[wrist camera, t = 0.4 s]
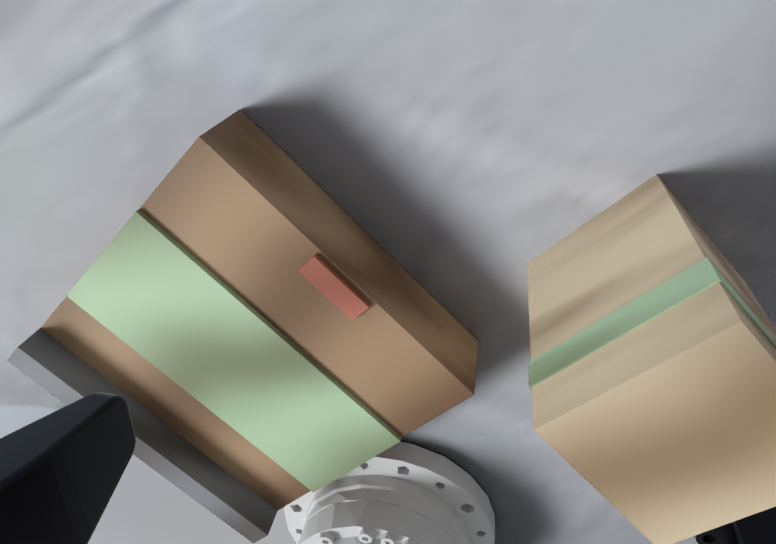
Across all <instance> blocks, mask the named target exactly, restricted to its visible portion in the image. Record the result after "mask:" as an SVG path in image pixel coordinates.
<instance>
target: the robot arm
mask: <svg viewBox="0 0 776 544" xmlns="http://www.w3.org/2000/svg"><path fill="white" fill-rule="evenodd" d="M135 443H136V436H135V431H134V428H133V424H132V420H131V416H130V412H129V408H128V404H127V401H126V400H125V399H124V398H123V397H122V396H120V395H115V394H109V393H103V392H95V393H92V394H89V395H87V396H85V397H83V398H81V399H79V400H77V401H75V402H73V403H71V404H69V405H67V406H65V407H63V408H61V409H59V410H57V411H55V412H53V413H51V414H49V415H47V416H45V417H43V418H41V419H39V420H37V421H35V422H33V423H31V424H29V425H27V426H25V427H23V428H21V429H19V430H17V431H15V432H13V433H11V434H9V435H7V436H5V437H3V438H1V439H0V544H87V543H88V541H89V540H90V538H91V536H92V534H93V532H94V530H95V528H96V526H97V524H98V522H99V520H100V518H101V516H102V514H103V512H104V510H105V508H106V506H107V504H108V502H109V500H110V498H111V496H112V494H113V492H114V490H115V488H116V486H117V484H118V482H119V480H120V478H121V476H122V474H123V472H124V470H125V468H126V466H127V464H128V462H129V460H130V458H131V456H132V454H133V452H134V448H135ZM695 538H696V541H697V542H698V543H699V544H776V506H775V507H773V508H770V509H767V510H764V511H762V512H759V513H756V514H753V515H751V516H748V517H745V518H742V519H739V520H737V521H734V522H731V523H728V524H726V525H723V526H720V527H717V528H714V529H712V530H709V531H706V532H703V533H701V534H698V535H695Z"/></svg>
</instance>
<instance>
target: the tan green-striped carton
mask: <svg viewBox="0 0 776 544" xmlns="http://www.w3.org/2000/svg"><path fill="white" fill-rule="evenodd" d="M527 279H528V303H529V328H530V352H531V361H530V362H528V369H529V387H530V388H531V389H532V400H533V425H534V431H535V432H536V433H537V434H539V435H540V436H541V437H542V438H543V439H544V440H545V441H546V442H547V443H548V444H549V445H550V446H551V447H552V448H553V449H554V450H555V451H556V452H557V453H558V454H560V455H561V456H562V457H563V458H564V459H565V460H566V461H567V462H568V463H569V464H570V465H571V466H572V467H573V468H574V469H575V470H576V471H577V472H578V473H579V474H581V475H582V476H583V477H584V478H585V479H586V480H587V481H588V482H589V483H590V484H591V485H592V486H593V487H594V488H595V489H596V490H597V491H598V492H599V493H600V494H602V495H603V496H604V497H605V498H606V499H607V500H608V501H609V502H610V503H611V504H612V505H613V506H614V507H615V508H616V509H617V510H618V511H619V512H620V513H621V514H623V515H624V516H625V517H626V518H627V519H628V520H629V521H630V522H631V523H632V524H633V525H634V526H635V527H636V528H637V529H638V530H639V531H640V532H641V533H642V534H644V535H645V536H646V537H647V538H648V539H649V540H650V541H651V542H652V543H653V544H673V543H676V542H678V541H681V540H684V539H687V538H690V537H692V536H695V535H698V534H701V533H703V532H706V531H709V530H712V529H714V528H717V527H720V526H723V525H726V524H728V523H731V522H734V521H737V520H739V519H742V518H745V517H748V516H751V515H753V514H756V513H759V512H762V511H764V510H767V509H770V508H773V507H775V506H776V329H775V327H774V326H773V324H772V322H771V321H770V319H769V318H768V316H767V315H766V313H765V312H764V310H763V309H762V307H761V306H760V304H759V303H758V301H757V299H756V298H755V296H754V295H753V293H752V292H751V290H750V289H749V287H748V286H747V284H746V283H745V281H744V280H743V279H742V278H741V276H740V275H739V274H738V273H737V272H736V270H735V269H734V268H733V267H732V265H731V264H730V263H729V262H728V261H727V259H726V258H725V257H724V256H723V254H722V253H721V252H720V251H719V250H718V248H717V247H716V246H715V245H714V243H713V242H712V241H711V240H710V239H709V237H708V236H707V235H706V234H705V232H704V231H703V230H702V229H701V228H700V226H699V225H698V224H697V223H696V222H695V220H694V219H693V218H692V217H691V215H690V214H689V213H688V212H687V211H686V209H685V208H684V207H683V206H682V204H681V203H680V202H679V201H678V200H677V198H676V197H675V196H674V195H673V193H672V192H671V191H670V190H669V189H668V187H667V186H666V185H665V184H664V183H663V181H662V180H661V179H660V178H659V176H658V175H657V174H656V175H655V176H654V177H652V178H651V179H649V180H648V181H646V182H645V183H643V184H642V185H641V186H639V187H638V188H636V189H635V190H633V191H632V192H630V193H629V194H627V195H626V196H625V197H623V198H622V199H620V200H619V201H617V202H616V203H614V204H613V205H611V206H610V207H609V208H607V209H606V210H604V211H603V212H601V213H600V214H598V215H597V216H596V217H594V218H593V219H591V220H590V221H588V222H587V223H585V224H584V225H582V226H581V227H580V228H578V229H577V230H575V231H574V232H572V233H571V234H569V235H568V236H566V237H565V238H564V239H562V240H561V241H559V242H558V243H556V244H555V245H553V246H552V247H551V248H549V249H548V250H546V251H545V252H543V253H542V254H540V255H539V256H537V257H536V258H535V259H533V260H532V261H530V262H529V263H527Z"/></svg>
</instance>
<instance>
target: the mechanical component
mask: <svg viewBox="0 0 776 544" xmlns="http://www.w3.org/2000/svg"><path fill="white" fill-rule="evenodd" d="M284 513H285V516H286V521H287V525H288V529H289V531H290V533H291V535H292V536H293V538H294V540H295V541H296V543H297V544H494V543H495V515H494V512H493V509H492V506H491V504H490V501H489V498H488V496H487V495H486V493H485V492H484V491H483V490H482V488H481V487H480V486H479V485H478V484H477V482H476V481H475V480H474V479H473V478H472V476H471V475H470V474H468V473H467V472H465V471H464V470H463V469H461V468H460V467H459V466H457V465H456V464H455V463H453V462H452V461H450V460H449V459H448V458H446V457H444V456H442V455H439V454H437V453H434V452H432V451H429V450H427V449H424V448H422V447H419V446H417V445H414V444H410V443H405V442H399V443H397V444H395V445H394V446H392V447H390V448H389V449H387V450H385V451H383V452H382V453H380V454H378V455H377V456H375V457H373V458H371V459H370V460H368V461H366V462H365V463H363V464H361V465H360V466H358V467H356V468H354V469H353V470H351V471H349V472H348V473H346V474H344V475H342V476H341V477H339V478H337V479H336V480H334V481H332V482H331V483H329V484H327V485H325V486H324V487H322V488H320V489H319V490H317V491H315V492H314V493H313V492H312V491H310V492H308V493H306V494H305V495H303V496H301V497H300V498H298V499H296V500H295V501H293V502H291V503H290V504H288V505H286V506H285V509H284Z"/></svg>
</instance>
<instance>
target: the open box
mask: <svg viewBox="0 0 776 544" xmlns="http://www.w3.org/2000/svg"><path fill="white" fill-rule="evenodd" d="M66 296H67V297H66V298H65V299H64V300H63V301H62V303H61V304H60V305H59V306H58V307H57V309H56V310H55V311H54V312H53V313H52V315H51V316H50V317H49V318H48V319H47V321H46V322H45V323H44V324H43V326H42V327H41V328H40V329H39V330H38V331H36V332H35V333H34V334H33V335H32V336H30V337H29V338H28V339H27V340H26V341H25V342H23V343H22V344H21V345H20V346H19V347H18V348H17V349H16V350H15V351H14V353H13V354H12V355H11V356H10V357H9V359H8V360H7V361H8V362H9V363H11V364H12V365H13V366H15V367H16V368H17V369H19V370H20V371H22V372H23V373H24V374H26V375H27V376H28V377H30V378H31V379H32V380H34V381H35V382H36V383H38V384H39V385H40V386H42V387H43V388H44V389H46V390H47V391H49V392H50V393H51V394H53V395H54V396H55V397H57V398H58V399H59V400H61V401H62V402H63V403H65V404H66V405H69V404H71V403H73V402H75V401H77V400H79V399H81V398H83V397H85V396H87V395H89V394H92V393H95V392H103V393H109V394H115V395H120V396H122V397H123V398H124V399H125V400H126V401H127V404H128V408H129V412H130V416H131V420H132V424H133V428H134V431H135V436H136V443H135V448H134V452H133V454H134V455H135V456H136V457H138V458H139V459H140V460H142V461H143V462H145V463H146V464H147V465H149V466H150V467H151V468H153V469H154V470H155V471H157V472H158V473H159V474H161V475H162V476H163V477H165V478H166V479H167V480H169V481H170V482H172V483H173V484H174V485H175V486H177V487H178V488H180V489H181V490H182V491H183V492H185V493H186V494H188V495H189V496H190V497H192V498H193V499H195V500H196V501H197V502H198V503H200V504H201V505H202V506H204V507H205V508H207V509H208V510H209V511H210V512H212V513H213V514H215V515H216V516H217V517H219V518H220V519H221V520H223V521H224V522H225V523H227V524H228V525H230V526H231V527H232V528H233V529H235V530H236V531H237V532H239V533H240V534H241V535H243V536H244V537H246V538H247V539H248V540H250V541H251V542H252V543H255V542H256V541H258V540H260V539H262V538H264V537H265V536H267V535H268V533H269V531H270V528H271V526H272V523H273V521H274V518H275V515H276V513H277V511H278V510H279V509H281V508H283V507H284V506H286V505H288V504H290V503H291V502H293V501H295V500H296V499H298V498H300V497H301V496H303V495H305V494H306V493H308V492H310V491H312V492H313V493H314V492H315V491H317V490H319V489H320V488H322V487H324V486H325V485H327V484H329V483H331V482H332V481H334V480H336V479H337V478H339V477H341V476H342V475H344V474H346V473H348V472H349V471H351V470H353V469H354V468H356V467H358V466H360V465H361V464H363V463H365V462H366V461H368V460H370V459H371V458H373V457H375V456H377V455H378V454H380V453H382V452H383V451H385V450H387V449H389V448H390V447H392V446H394V445H395V444H397V443H399V442H400V441H401V437H403V436H405V435H406V434H408V433H410V432H411V431H413V430H415V429H416V428H418V427H420V426H422V425H423V424H425V423H427V422H428V421H430V420H432V419H433V418H435V417H437V416H439V415H440V414H442V413H444V412H445V411H447V410H449V409H450V408H452V407H454V406H455V405H457V404H459V403H461V402H462V401H464V400H466V399H467V398H469V397H471V396H472V395H474V388H475V376H476V364H477V353H478V341H477V340H476V339H475V338H474V337H473V336H472V335H471V334H470V333H469V332H468V331H467V330H466V329H465V328H464V327H463V326H462V325H461V324H460V323H459V322H458V321H457V320H456V319H455V318H454V317H453V316H452V315H451V314H450V313H449V312H448V311H446V310H445V309H444V308H443V307H442V306H441V305H440V304H439V303H438V302H437V301H436V300H435V299H434V298H433V297H432V296H431V295H430V294H429V293H428V292H427V291H426V290H425V289H424V288H423V287H422V286H421V285H420V284H419V283H418V282H417V281H416V280H415V279H414V278H413V277H412V276H411V275H410V274H409V273H407V272H406V271H405V270H404V269H403V268H402V267H401V266H400V265H399V264H398V263H397V262H396V261H395V260H394V259H393V258H392V257H391V256H390V255H389V254H388V253H387V252H386V251H385V250H384V249H383V248H382V247H381V246H380V245H379V244H378V243H377V242H376V241H375V240H374V239H373V238H372V237H371V236H370V235H369V234H367V233H366V232H365V231H364V230H363V229H362V228H361V227H360V226H359V225H358V224H357V223H356V222H355V221H354V220H353V219H352V218H351V217H350V216H349V215H348V214H347V213H346V212H345V211H344V210H343V209H342V208H341V207H340V206H339V205H338V204H337V203H336V202H335V201H334V200H333V199H332V198H331V197H330V196H329V195H327V194H326V193H325V192H324V191H323V190H322V189H321V188H320V187H319V186H318V185H317V184H316V183H315V182H314V181H313V180H312V179H311V178H310V177H309V176H308V175H307V174H306V173H305V172H304V171H303V170H302V169H301V168H300V167H299V166H298V165H297V164H296V163H295V162H294V161H293V160H292V159H291V158H290V157H289V156H287V155H286V154H285V153H284V152H283V151H282V150H281V149H280V148H279V147H278V146H277V145H276V144H275V143H274V142H273V141H272V140H271V139H270V138H269V137H268V136H267V135H266V134H265V133H264V132H263V131H262V130H261V129H260V128H259V127H258V126H257V125H256V124H255V123H254V122H253V121H252V120H251V119H250V118H248V117H247V116H246V115H245V114H244V113H243V112H242V111H241V110H238V111H237V112H235V113H234V114H232V115H231V116H229V117H228V118H226V119H225V120H223V121H222V122H220V123H219V124H217V125H216V126H214V127H213V128H211V129H210V130H208V131H207V132H206V133H204V134H203V135H201V136H200V137H199V138H198V139H197V140H196V141H195V142H194V144H193V145H192V146H191V147H190V148H189V150H188V151H187V152H186V153H185V155H184V156H183V157H182V158H181V159H180V161H179V162H178V163H177V164H176V165H175V167H174V168H173V169H172V170H171V171H170V173H169V174H168V175H167V176H166V177H165V179H164V180H163V181H162V182H161V183H160V185H159V186H158V187H157V188H156V189H155V191H154V192H153V193H152V194H151V195H150V197H149V198H148V199H147V200H146V201H145V203H144V204H143V205H142V206H141V207H140V209H139V210H137V211H136V212H135V213H134V214H133V216H132V217H131V218H130V219H129V220H128V222H127V223H126V224H125V225H124V226H123V228H122V229H121V230H120V231H119V233H118V234H117V235H116V236H115V237H114V239H113V240H112V241H111V242H110V243H109V245H108V246H107V247H106V248H105V249H104V251H103V252H102V253H101V254H100V255H99V257H98V258H97V259H96V260H95V261H94V263H93V264H92V265H91V266H90V268H89V269H88V270H87V271H86V272H85V274H84V275H83V276H82V277H81V278H80V280H79V281H78V282H77V283H76V284H75V286H74V287H73V288H72V289H71V290H70V292H69V293H68V294H67V295H66Z"/></svg>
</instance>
